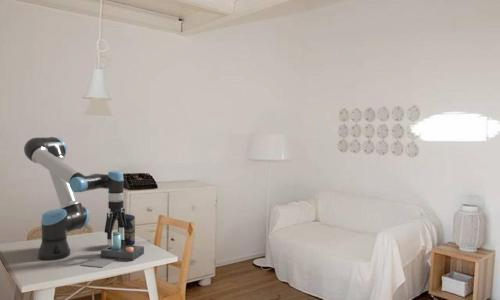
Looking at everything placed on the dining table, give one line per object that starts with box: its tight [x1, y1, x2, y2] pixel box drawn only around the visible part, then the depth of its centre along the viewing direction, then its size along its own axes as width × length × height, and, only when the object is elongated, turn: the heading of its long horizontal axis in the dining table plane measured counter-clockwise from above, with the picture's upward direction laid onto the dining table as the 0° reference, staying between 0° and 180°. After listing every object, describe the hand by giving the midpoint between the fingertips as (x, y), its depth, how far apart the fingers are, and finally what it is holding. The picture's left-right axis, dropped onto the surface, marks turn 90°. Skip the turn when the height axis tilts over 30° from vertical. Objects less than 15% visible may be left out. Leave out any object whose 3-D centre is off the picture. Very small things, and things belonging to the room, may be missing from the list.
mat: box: [79, 256, 117, 268], centre depth 201 cm, size 12×12×1 cm
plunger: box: [126, 247, 134, 252], centre depth 209 cm, size 4×4×4 cm
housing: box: [100, 245, 145, 262], centre depth 212 cm, size 18×12×4 cm, turn 78°
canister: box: [117, 213, 136, 246], centre depth 231 cm, size 10×10×18 cm
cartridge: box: [111, 231, 121, 250], centre depth 213 cm, size 5×5×12 cm
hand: (115, 242), depth 213 cm, fingers open, 10 cm apart
